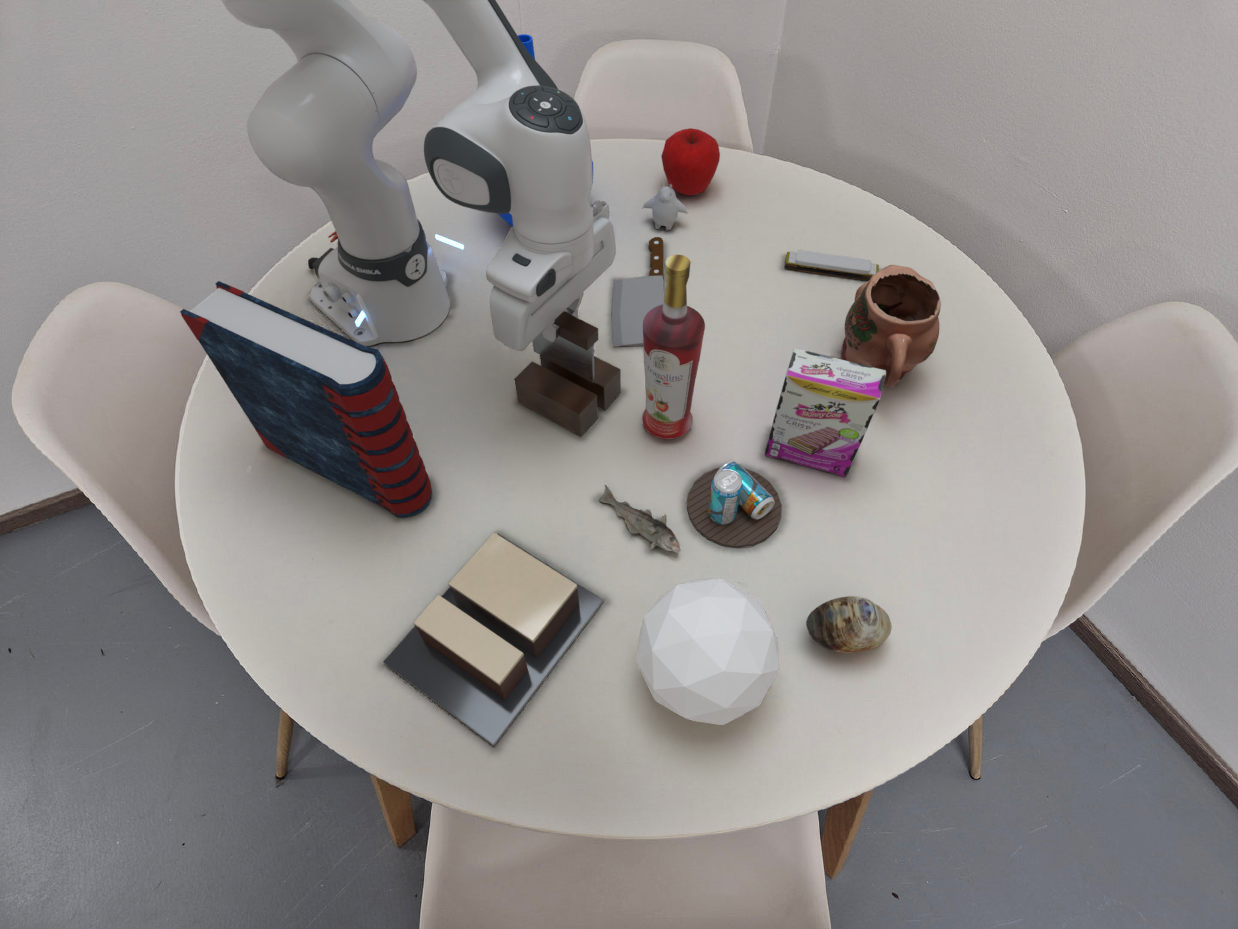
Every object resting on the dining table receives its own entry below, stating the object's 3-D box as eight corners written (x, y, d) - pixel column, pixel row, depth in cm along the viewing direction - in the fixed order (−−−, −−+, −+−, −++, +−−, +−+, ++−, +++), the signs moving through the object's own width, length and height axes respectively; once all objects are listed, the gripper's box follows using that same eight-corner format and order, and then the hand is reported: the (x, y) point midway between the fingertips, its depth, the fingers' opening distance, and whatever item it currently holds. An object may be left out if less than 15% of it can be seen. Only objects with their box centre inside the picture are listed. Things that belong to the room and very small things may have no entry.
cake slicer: (528, 355, 104) (522, 306, 97) (539, 345, 105) (534, 296, 98) (588, 387, 101) (587, 339, 94) (599, 376, 102) (598, 328, 95)
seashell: (877, 613, 89) (897, 582, 82) (888, 661, 85) (910, 632, 79) (795, 616, 88) (809, 584, 82) (803, 663, 85) (818, 635, 79)
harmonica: (784, 269, 123) (786, 259, 122) (786, 257, 125) (788, 247, 123) (876, 283, 121) (879, 273, 120) (876, 270, 123) (880, 260, 121)
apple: (656, 203, 134) (659, 146, 125) (664, 171, 139) (666, 114, 130) (713, 209, 133) (719, 152, 124) (718, 176, 138) (724, 119, 129)
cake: (384, 664, 85) (370, 644, 81) (498, 535, 95) (491, 511, 90) (494, 746, 80) (486, 731, 76) (603, 601, 90) (602, 580, 85)
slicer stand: (518, 402, 107) (513, 378, 103) (559, 361, 112) (556, 336, 108) (581, 437, 104) (579, 414, 100) (620, 393, 108) (620, 369, 104)
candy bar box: (763, 458, 102) (783, 374, 88) (771, 430, 104) (792, 345, 91) (847, 480, 99) (881, 398, 86) (853, 451, 102) (887, 367, 89)
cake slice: (423, 640, 86) (413, 622, 82) (446, 613, 88) (438, 594, 84) (505, 699, 82) (499, 683, 78) (528, 670, 84) (523, 652, 80)
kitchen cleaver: (614, 237, 127) (675, 235, 126) (615, 242, 128) (675, 240, 127) (609, 344, 113) (677, 343, 112) (610, 349, 114) (677, 347, 113)
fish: (675, 567, 93) (697, 533, 93) (664, 565, 90) (687, 529, 90) (596, 508, 100) (617, 476, 99) (583, 504, 96) (604, 471, 96)
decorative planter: (928, 427, 104) (965, 356, 93) (838, 422, 105) (864, 351, 94) (907, 323, 116) (938, 249, 105) (826, 320, 117) (848, 245, 105)
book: (444, 488, 99) (398, 354, 79) (411, 528, 96) (354, 399, 75) (298, 416, 106) (221, 276, 86) (262, 451, 103) (173, 314, 83)
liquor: (632, 437, 104) (634, 276, 81) (650, 398, 108) (656, 234, 85) (684, 452, 102) (701, 292, 79) (700, 412, 106) (720, 249, 83)
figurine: (638, 229, 130) (639, 189, 123) (645, 208, 133) (646, 168, 126) (685, 235, 128) (688, 195, 122) (690, 214, 132) (694, 173, 125)
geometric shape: (709, 659, 91) (779, 568, 84) (745, 769, 78) (830, 672, 72) (603, 630, 86) (669, 531, 79) (624, 743, 73) (704, 636, 67)
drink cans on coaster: (667, 497, 98) (670, 461, 92) (738, 453, 102) (746, 415, 96) (728, 565, 92) (736, 531, 86) (801, 515, 96) (813, 479, 90)
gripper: (585, 183, 92) (588, 273, 103) (474, 278, 82) (490, 365, 93) (629, 202, 90) (626, 291, 101) (520, 301, 80) (531, 388, 91)
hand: (560, 328), depth 97 cm, fingers closed on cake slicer, 2 cm apart
